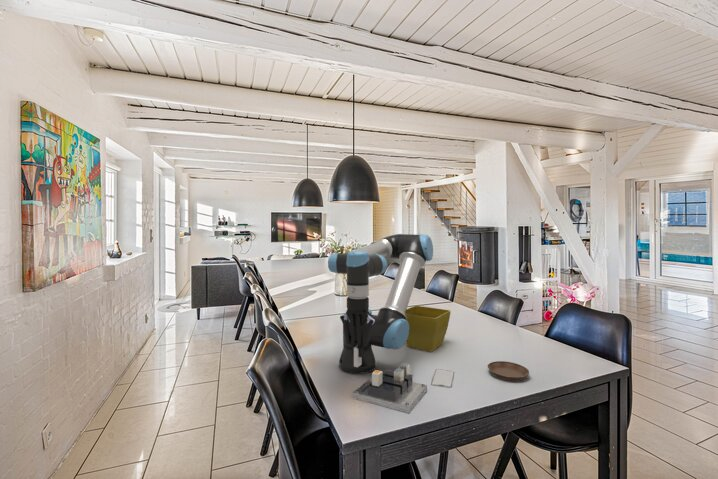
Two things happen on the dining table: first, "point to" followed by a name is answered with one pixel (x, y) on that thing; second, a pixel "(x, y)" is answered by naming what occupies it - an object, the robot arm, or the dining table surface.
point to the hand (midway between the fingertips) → (357, 365)
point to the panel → (391, 403)
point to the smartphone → (443, 378)
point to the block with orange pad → (377, 378)
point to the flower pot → (426, 327)
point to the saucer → (508, 370)
